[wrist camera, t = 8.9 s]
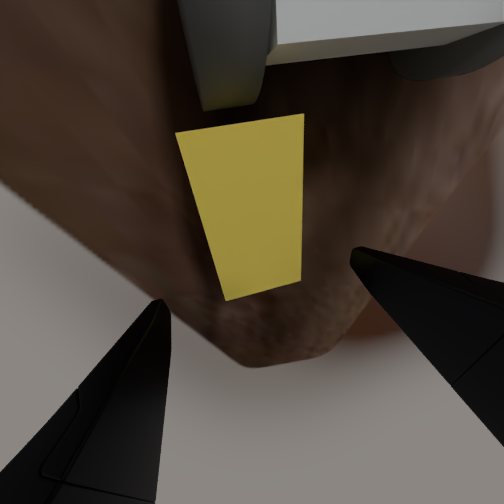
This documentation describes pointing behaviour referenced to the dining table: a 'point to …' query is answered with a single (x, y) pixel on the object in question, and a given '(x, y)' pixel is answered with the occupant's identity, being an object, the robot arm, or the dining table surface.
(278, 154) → the block
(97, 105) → the dining table surface
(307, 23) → the trolley
